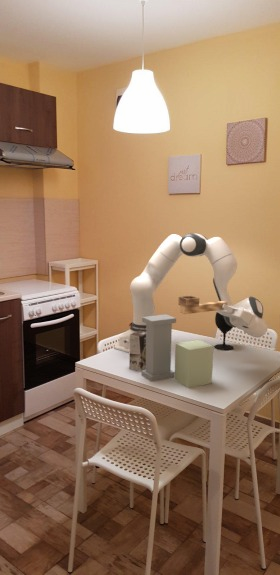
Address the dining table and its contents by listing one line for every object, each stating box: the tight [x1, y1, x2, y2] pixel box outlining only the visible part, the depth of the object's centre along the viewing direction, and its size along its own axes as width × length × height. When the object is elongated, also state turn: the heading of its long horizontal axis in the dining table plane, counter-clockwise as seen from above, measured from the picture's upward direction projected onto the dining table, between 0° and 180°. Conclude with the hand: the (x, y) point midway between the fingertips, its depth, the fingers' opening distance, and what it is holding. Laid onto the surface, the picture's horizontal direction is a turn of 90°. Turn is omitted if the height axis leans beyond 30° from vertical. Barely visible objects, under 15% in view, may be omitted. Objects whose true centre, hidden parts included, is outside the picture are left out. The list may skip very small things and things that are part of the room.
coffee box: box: [128, 330, 146, 372], centre depth 203 cm, size 9×6×16 cm
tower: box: [140, 314, 177, 382], centre depth 191 cm, size 12×8×26 cm, turn 119°
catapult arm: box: [177, 295, 228, 315], centre depth 185 cm, size 22×6×6 cm, turn 119°
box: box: [174, 339, 214, 389], centre depth 187 cm, size 12×10×16 cm
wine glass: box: [213, 311, 235, 351], centre depth 234 cm, size 10×10×20 cm
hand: (219, 304), depth 189 cm, fingers closed on catapult arm, 3 cm apart
